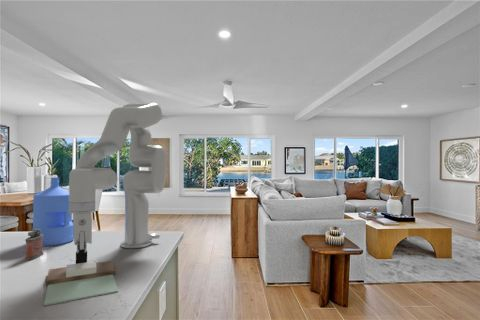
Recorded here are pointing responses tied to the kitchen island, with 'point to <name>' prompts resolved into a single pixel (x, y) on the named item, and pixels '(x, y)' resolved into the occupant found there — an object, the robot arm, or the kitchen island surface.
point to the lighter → (34, 245)
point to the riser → (60, 275)
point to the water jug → (53, 215)
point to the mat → (80, 289)
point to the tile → (81, 269)
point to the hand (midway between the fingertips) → (81, 264)
